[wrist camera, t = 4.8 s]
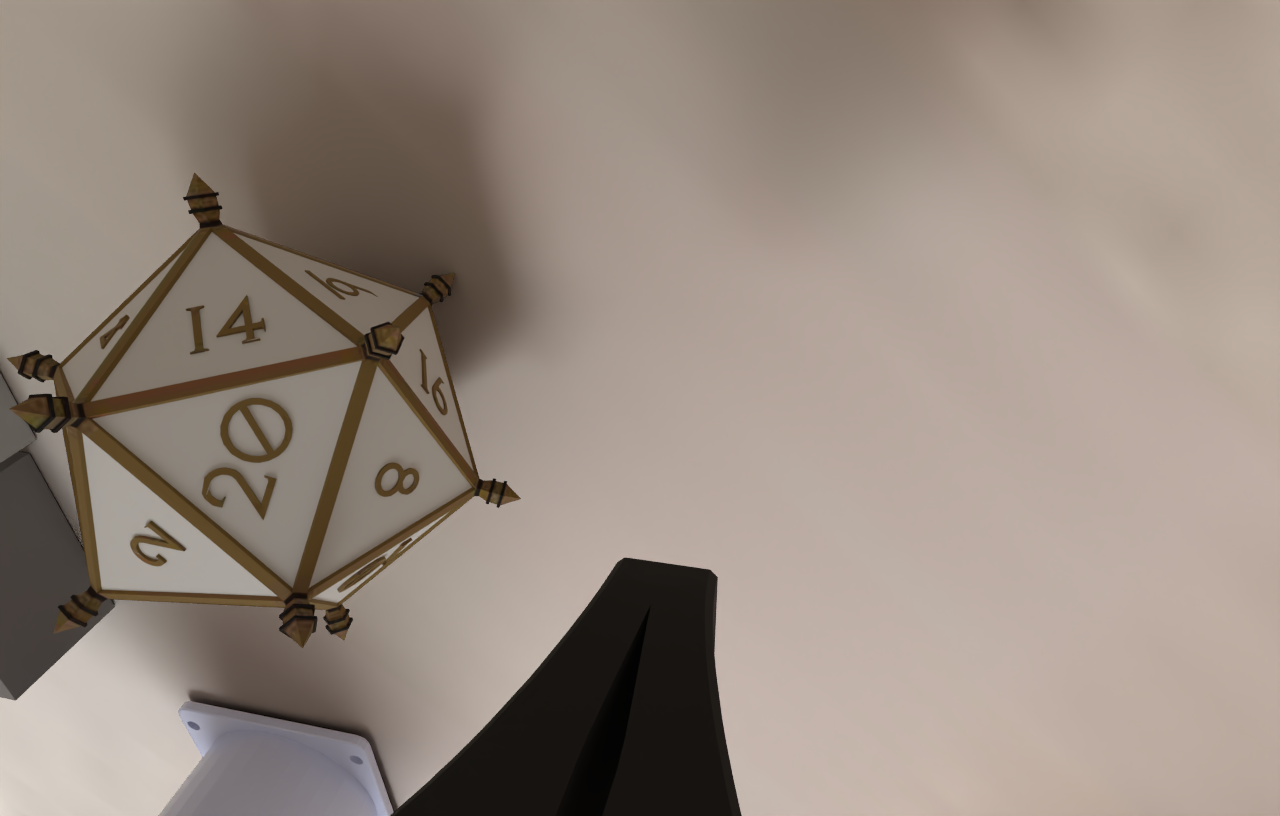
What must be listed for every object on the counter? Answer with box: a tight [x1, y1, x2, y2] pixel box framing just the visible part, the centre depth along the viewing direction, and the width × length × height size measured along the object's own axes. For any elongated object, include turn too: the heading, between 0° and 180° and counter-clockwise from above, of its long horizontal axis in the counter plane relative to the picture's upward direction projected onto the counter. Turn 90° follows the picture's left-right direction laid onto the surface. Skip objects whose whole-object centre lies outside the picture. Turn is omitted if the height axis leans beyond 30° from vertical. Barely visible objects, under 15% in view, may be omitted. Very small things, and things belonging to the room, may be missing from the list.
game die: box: [7, 173, 521, 648], centre depth 15 cm, size 9×8×10 cm
